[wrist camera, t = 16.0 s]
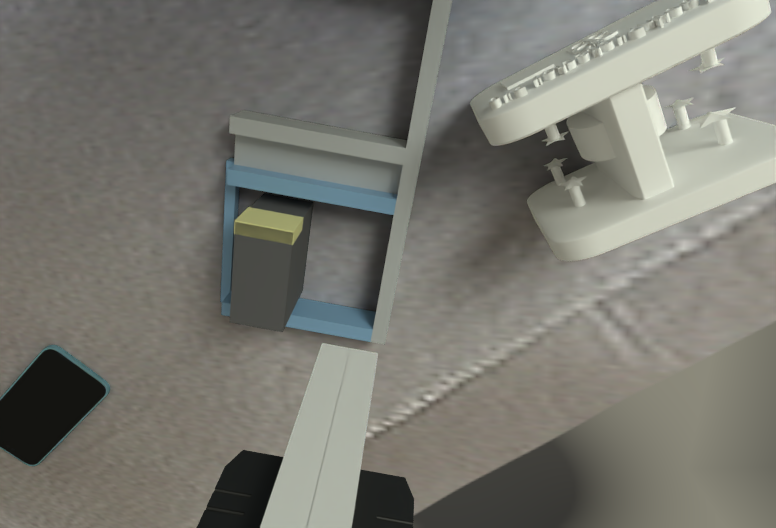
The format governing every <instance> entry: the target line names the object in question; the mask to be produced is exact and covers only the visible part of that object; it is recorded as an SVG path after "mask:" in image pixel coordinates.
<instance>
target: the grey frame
mask: <svg viewBox="0 0 776 528" xmlns="http://www.w3.org/2000/svg"><path fill="white" fill-rule="evenodd" d="M451 5H452V0H433V3H432V8H431V14H430V19H429V25H428V30H427V36H426V41H425V47H424V52H423V58H422V63H421V69H420V74H419V79H418V85H417V90H416V96H415V101H414V107H413V112H412V118H411V123H410V129H409V134H408V140H403V139H398V138H392V137H387V136H382V135H376V134H371V133H365V132H360V131H354V130H349V129H343V128H338V127H333V126H327V125H322V124H316V123H311V122H305V121H300V120H295V119H289V118H284V117H278V116H273V115H267V114H262V113H257V112H251V111H246V110H243V111H240V112H238V113H236V114H233V115H231V116H230V124H229V133H231V134H235V155H234V158H230V159H228V160H227V161H226V181H225V205H224V229H223V253H222V277H221V301H220V302H222V311H221V315H224V316H230V305H231V288H232V271H233V253H234V236H235V234H234V223H235V220H236V219H237V218H238V205H239V187H243V188H248V189H254V190H259V191H264V192H270V193H275V194H281V195H286V196H292V197H297V198H303V199H308V200H314V201H319V202H324V203H330V204H335V205H341V206H346V207H352V208H357V209H363V210H368V211H374V212H379V213H385V214H390V215H394V216H393V222H392V227H391V233H390V238H389V244H388V249H387V255H386V260H385V266H384V271H383V277H382V282H381V287H380V293H379V298H378V304H377V309H376V312H374V311H369V310H363V309H358V308H352V307H347V306H341V305H336V304H330V303H325V302H319V301H314V300H308V299H303V298H299V299H298V301H297V303H296V305H295V307H294V309H293V312H292V314H291V316H290V318H289V320H288V322H287V324H286V326H285V327H290V328H296V329H302V330H307V331H313V332H318V333H324V334H329V335H335V336H340V337H346V338H351V339H357V340H362V341H368V342H373V343H379V344H384V345H385V341H386V336H387V331H388V326H389V321H390V316H391V311H392V306H393V301H394V295H395V290H396V285H397V280H398V275H399V270H400V265H401V260H402V255H403V250H404V245H405V239H406V234H407V229H408V224H409V219H410V214H411V209H412V204H413V199H414V194H415V189H416V183H417V178H418V173H419V168H420V163H421V158H422V153H423V148H424V143H425V138H426V133H427V127H428V122H429V117H430V112H431V107H432V102H433V97H434V92H435V87H436V82H437V77H438V71H439V66H440V61H441V56H442V51H443V46H444V41H445V36H446V31H447V26H448V21H449V15H450V10H451Z"/></svg>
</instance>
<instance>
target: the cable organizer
mask: <svg viewBox="0 0 776 528" xmlns="http://www.w3.org/2000/svg"><path fill="white" fill-rule="evenodd" d="M770 13H771V8H770V4H769V0H658V1H655V2H653V3H651V4H649V5H647V6H645V7H643V8H641V9H639V10H637V11H635V12H633V13H631V14H630V15H628V16H626V17H624V18H622V19H620V20H618V21H616V22H614V23H612V24H610V25H608V26H606V27H604V28H602V29H600V30H598V31H596V32H595V33H593V34H591V35H589V36H587V37H585V38H583V39H581V40H579V41H577V42H575V43H573V44H571V45H569V46H567V47H565V48H563V49H561V50H560V51H558V52H556V53H554V54H552V55H550V56H548V57H546V58H544V59H542V60H540V61H538V62H536V63H534V64H532V65H530V66H528V67H526V68H525V69H523V70H521V71H519V72H517V73H515V74H513V75H511V76H509V77H507V78H505V79H503V80H501V81H499V82H497V83H496V84H494V85H492V86H490V87H489V88H487V89H485V90H484V91H482V92H481V93H479V94H478V95H477V96H475V97H474V98H473V99H472V100H471V102H470V105H471V107H472V110H473V112H474V114H475V116H476V119H477V121H478V123H479V125H480V127H481V129H482V130H483V132H484V134H485V136H486V137H487V139H488V141H489V143H490V144H491V145H493V146H499V145H505V144H509V143H512V142H515V141H518V140H521V139H523V138H526V137H528V136H531V135H533V134H535V133H537V132H539V131H541V130H543V129H545V132H546V134H547V137H548V138H547V139H545V140H542V141H548V142H547V145H549V144H551V143H553V142H555V141H559V140H565V139H564V137H563V136H564V135H565V134H567V133H568V132H569V131H570V133H571V135H572V137H573V140H574V142H575V144H576V146H577V149H578V151H579V153H580V155H581V157H582V158H583V159H585V160H588V161H595V163H592V164H590V165H588V166H586V167H584V168H581V169H579V170H577V171H575V172H572V173H570V174H568V175H566V176H564V175H563V172H562V170H561V167H560V166H563V165H562V163H561V162H563V161H564V160H565V159H567V158H564V159H561V160H558V159H556V158H554V159H553V161H552V162H551V163H548V164H546V165H543V166H548V169H547V171H548V170H551V172H552V175H553V177H554V180H555V181H553V182H550V183H548V184H546V185H545V186H543V187H541V188H540V189H538V190H537V191H535V192H534V193H533V194H531V195H530V197H529V198H528V199H527V204H528V206H529V209H530V211H531V213H532V216H533V218H534V220H535V221H536V223H537V225H538V227H539V228H540V230H541V232H542V234H543V235H544V237H545V239H546V241H547V242H548V244H549V246H550V248H551V249H552V251H553V253H554V255H555V256H556V258H557V259H559V260H562V261H578V260H584V259H588V258H592V257H595V256H598V255H601V254H603V253H606V252H608V251H610V250H613V249H615V248H618V247H620V246H623V245H625V244H628V243H630V242H632V241H635V240H637V239H640V238H642V237H645V236H647V235H649V234H652V233H654V232H657V231H659V230H662V229H664V228H667V227H669V226H671V225H674V224H676V223H679V222H681V221H684V220H686V219H689V218H691V217H693V216H696V215H698V214H701V213H703V212H706V211H708V210H711V209H713V208H715V207H718V206H720V205H723V204H725V203H728V202H730V201H733V200H735V199H737V198H740V197H742V196H745V195H747V194H750V193H752V192H755V191H757V190H759V189H762V188H764V187H767V186H769V185H772V184H774V183H776V125H772V124H769V123H765V122H761V121H757V120H754V119H750V118H746V117H743V116H739V115H735V114H731V113H729V112H730V111H732V110H733V109H735V108H731V109H726V110H721V111H716V112H708V113H707V114H706V115H702V116H699V117H696V118H693V119H690V120H689V118H688V115H687V112H686V108H685V106H686V105H692V103H690V102H689V101H691V100H692V99H693V98H690V99H687V100H676V101H675V103H674V104H672V105H669V106H667V107H664V108H668V107H672V108H673V111H674V114H675V117H676V121H677V124H678V125H676V126H674V127H672V128H670V129H667V130H666V128H667V125H666V122H665V119H664V116H663V112H662V109H661V106H660V103H659V100H658V96H657V93H656V90H655V88H654V87H652V86H649V85H642V83H641V82H643V81H645V80H648V79H650V78H652V77H654V76H656V75H658V74H660V73H662V72H664V71H666V70H668V69H670V68H673V67H675V66H677V65H679V64H681V63H683V62H685V61H687V60H689V59H691V58H693V57H695V56H698V55H700V56H701V60H702V63H701V65H700V66H699V67H697V68H694V69H692V70H690V71H694V70H699V71H700V73H702V72H704V71H706V70H707V69H709V68H713V67H717V66H721V65H725V64H721V63H719V62H720V61H721V60H723V59H724V58H722V59H719V60H717V56H716V52H715V49H714V47H716V46H718V45H720V44H722V43H725V42H727V41H729V40H731V39H733V38H735V37H737V36H739V35H741V34H743V33H744V32H746V31H748V30H750V29H751V28H753V27H755V26H756V25H758V24H759V23H761V22H762V21H763V20H765V19H766V18H767V17H768V16H769V15H770ZM568 117H569V118H568ZM566 118H568V119H567V122H566V124H567V126H568V129H569V131H568V132H565V133H561V134H559V131H558V129H557V126H556V123H558V122H560V121H562V120H564V119H566ZM547 145H546V146H547Z"/></svg>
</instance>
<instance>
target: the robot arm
mask: <svg viewBox="0 0 776 528" xmlns="http://www.w3.org/2000/svg"><path fill="white" fill-rule="evenodd" d="M377 357H378V353H374V352H369V351H363V350H358V349H352V348H347V347H341V346H336V345H330V344H325V343H322V345H321V348H320V351H319V354H318V357H317V360H316V363H315V366H314V369H313V372H312V375H311V378H310V380H309V383H308V386H307V389H306V392H305V395H304V398H303V401H302V404H301V407H300V410H299V413H298V416H297V419H296V422H295V425H294V428H293V431H292V434H291V437H290V440H289V443H288V446H287V449H286V452H285V455H284V457H279V456H274V455H268V454H263V453H257V452H252V451H246V450H243V451H241V452H240V453H239V454H238V455H237V456H236V457H235V458H234V459H233V460H232V461H231V462H230V463H228V464H227V465H226V466H225V468H224V470H223V472H222V474H221V477H220V479H219V481H218V483H217V485H216V487H215V491H214V492H213V494H212V496H211V498H210V500H209V502H208V505H207V508H206V510H205V511H204V513H203V515H202V517H201V520H200V522H199V524H198V526H197V528H413V513H414V498H413V496H412V493H411V491H410V488H409V486H408V484H407V481H406V479H405V478H404V477H399V476H393V475H387V474H382V473H376V472H371V471H365V470H360V469H361V463H362V456H363V449H364V443H365V436H366V430H367V423H368V417H369V410H370V403H371V397H372V390H373V384H374V377H375V371H376V364H377Z"/></svg>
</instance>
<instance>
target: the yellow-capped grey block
mask: <svg viewBox="0 0 776 528" xmlns="http://www.w3.org/2000/svg"><path fill="white" fill-rule="evenodd" d="M312 209H313V202H308V201H303V200H298V199H292V198H287V197H282V196H276V195H271V194H266V193H264V194H263V195H262V196H261V197H260V198H259V199H258V200H257V201H256V202H255V203H254V204H253V205H252V206H251V207H248V208H247V209H246V210H245V211H244V212H243V213H242V214H241V215H240V216H239V217H238V218H237V219H236V220H235V223H234V234H235V236H234V253H233V271H232V288H231V305H230V322H231V323H237V324H242V325H247V326H253V327H258V328H263V329H269V330H274V331H280V332H283V330H284V328H285V326H286V324H287V322H288V320H289V318H290V316H291V314H292V312H293V309H294V307H295V305H296V303H297V301H298V299H299V297H300V295H301V293H302V291H303V284H304V276H305V267H306V259H307V251H308V242H309V234H310V226H311V218H312Z"/></svg>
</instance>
